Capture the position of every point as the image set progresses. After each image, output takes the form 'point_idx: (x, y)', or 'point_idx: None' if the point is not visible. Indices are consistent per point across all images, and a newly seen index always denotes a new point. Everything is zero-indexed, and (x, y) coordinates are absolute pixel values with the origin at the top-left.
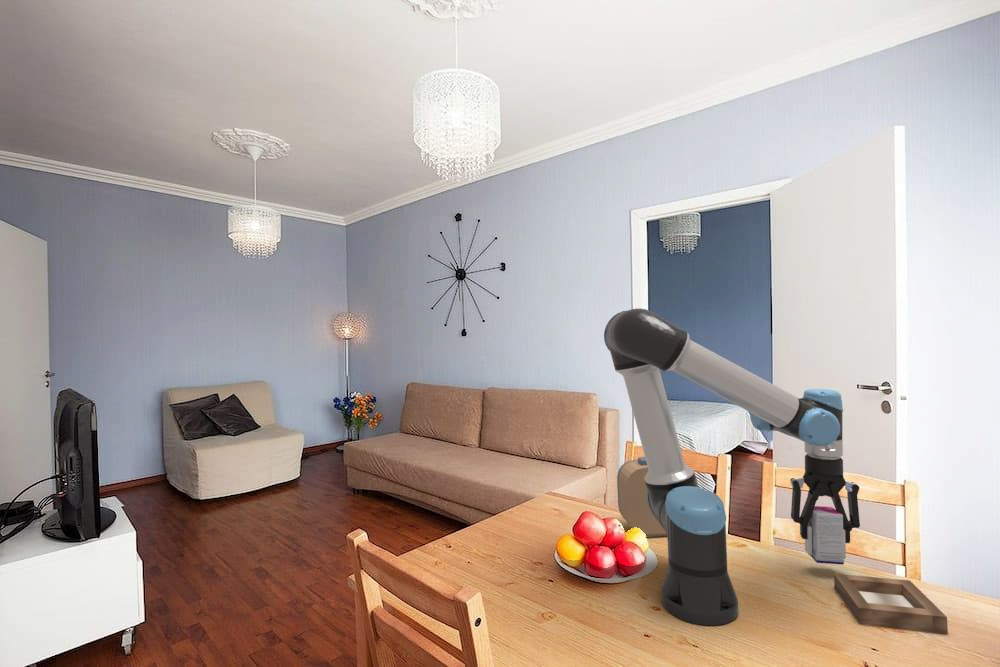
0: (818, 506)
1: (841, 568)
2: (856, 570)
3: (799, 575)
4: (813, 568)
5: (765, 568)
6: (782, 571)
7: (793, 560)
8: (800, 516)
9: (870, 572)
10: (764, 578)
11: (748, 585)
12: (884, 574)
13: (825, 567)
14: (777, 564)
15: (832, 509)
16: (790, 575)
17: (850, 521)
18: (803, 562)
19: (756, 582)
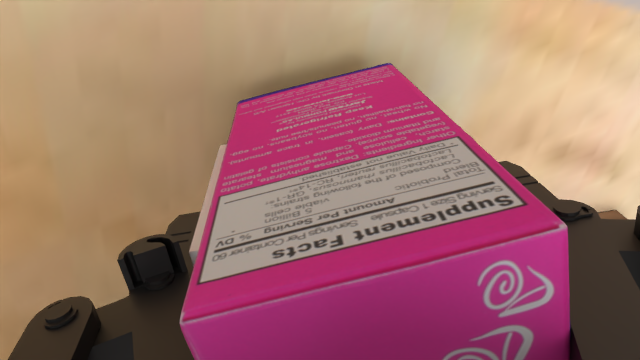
0: (356, 295)
1: (417, 22)
2: (489, 21)
3: (203, 186)
4: (272, 79)
5: (42, 168)
6: (124, 172)
7: (169, 2)
8: (132, 312)
9: (553, 21)
10: (59, 268)
11: (14, 343)
12: (615, 22)
13: (336, 41)
14: (90, 96)
15: (525, 357)
16: (163, 201)
17: (636, 272)
18: (224, 12)
19: (36, 312)
